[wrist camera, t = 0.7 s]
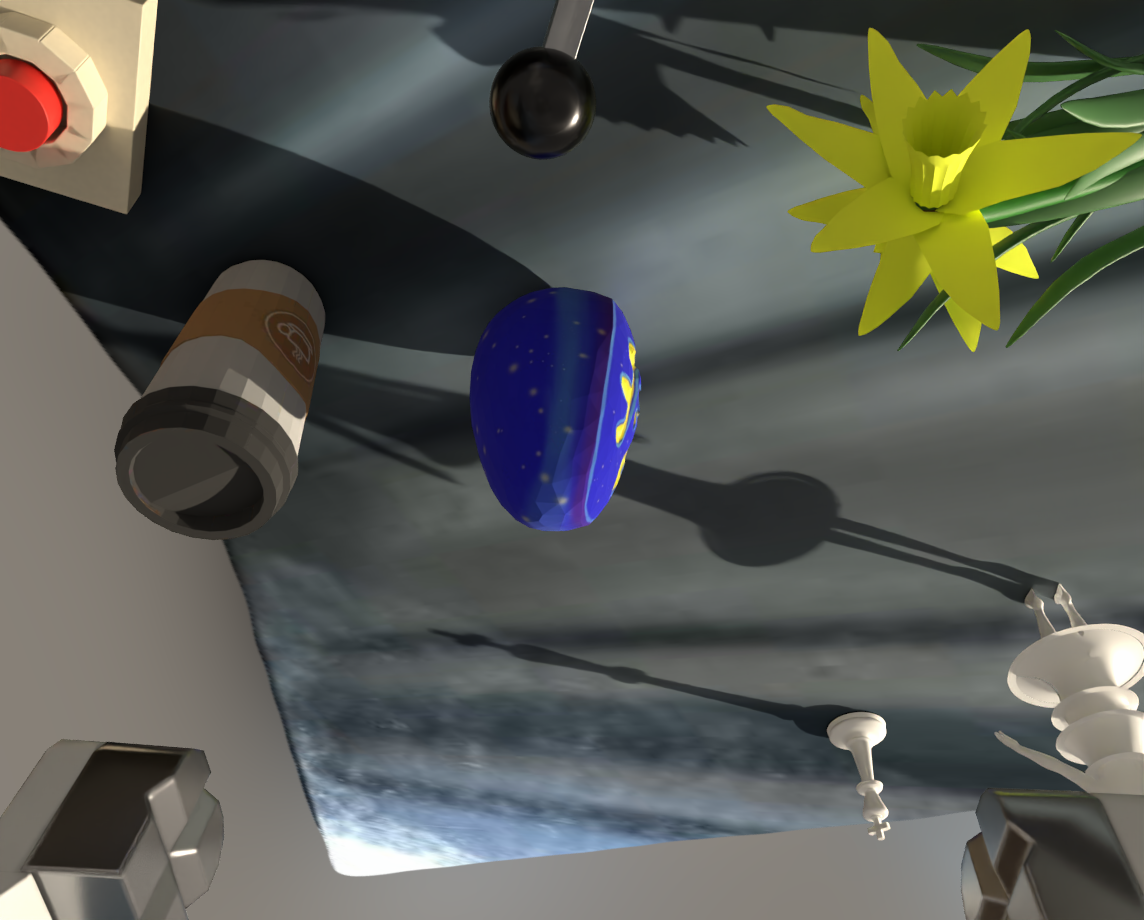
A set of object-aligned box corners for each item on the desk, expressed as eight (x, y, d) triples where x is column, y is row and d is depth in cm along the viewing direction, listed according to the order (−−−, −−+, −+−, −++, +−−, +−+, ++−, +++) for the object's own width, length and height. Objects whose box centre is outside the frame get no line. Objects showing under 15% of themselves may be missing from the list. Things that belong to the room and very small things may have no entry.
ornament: (630, 405, 63) (640, 593, 52) (482, 402, 63) (460, 589, 52) (643, 250, 55) (657, 431, 44) (475, 245, 55) (446, 426, 44)
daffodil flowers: (1339, 229, 55) (731, 405, 52) (1303, -52, 52) (661, 114, 49) (1731, 193, 38) (874, 449, 35) (1707, -221, 36) (780, 13, 32)
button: (-22, 46, 44) (-40, 61, 43) (64, 74, 45) (49, 90, 44) (-19, 119, 47) (-37, 136, 45) (62, 145, 48) (48, 163, 46)
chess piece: (816, 725, 87) (837, 836, 79) (867, 704, 84) (894, 816, 77) (845, 749, 89) (868, 859, 82) (895, 729, 87) (924, 840, 80)
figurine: (956, 652, 79) (1041, 907, 65) (950, 574, 73) (1042, 838, 58) (1136, 622, 77) (1266, 882, 62) (1145, 539, 70) (1292, 806, 56)
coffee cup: (373, 330, 59) (324, 514, 48) (259, 380, 62) (188, 566, 51) (283, 215, 54) (206, 392, 43) (164, 275, 57) (63, 456, 46)
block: (-54, -88, 44) (-100, -60, 41) (159, -12, 46) (129, 20, 43) (-43, 136, 51) (-82, 174, 48) (141, 194, 53) (115, 233, 50)
